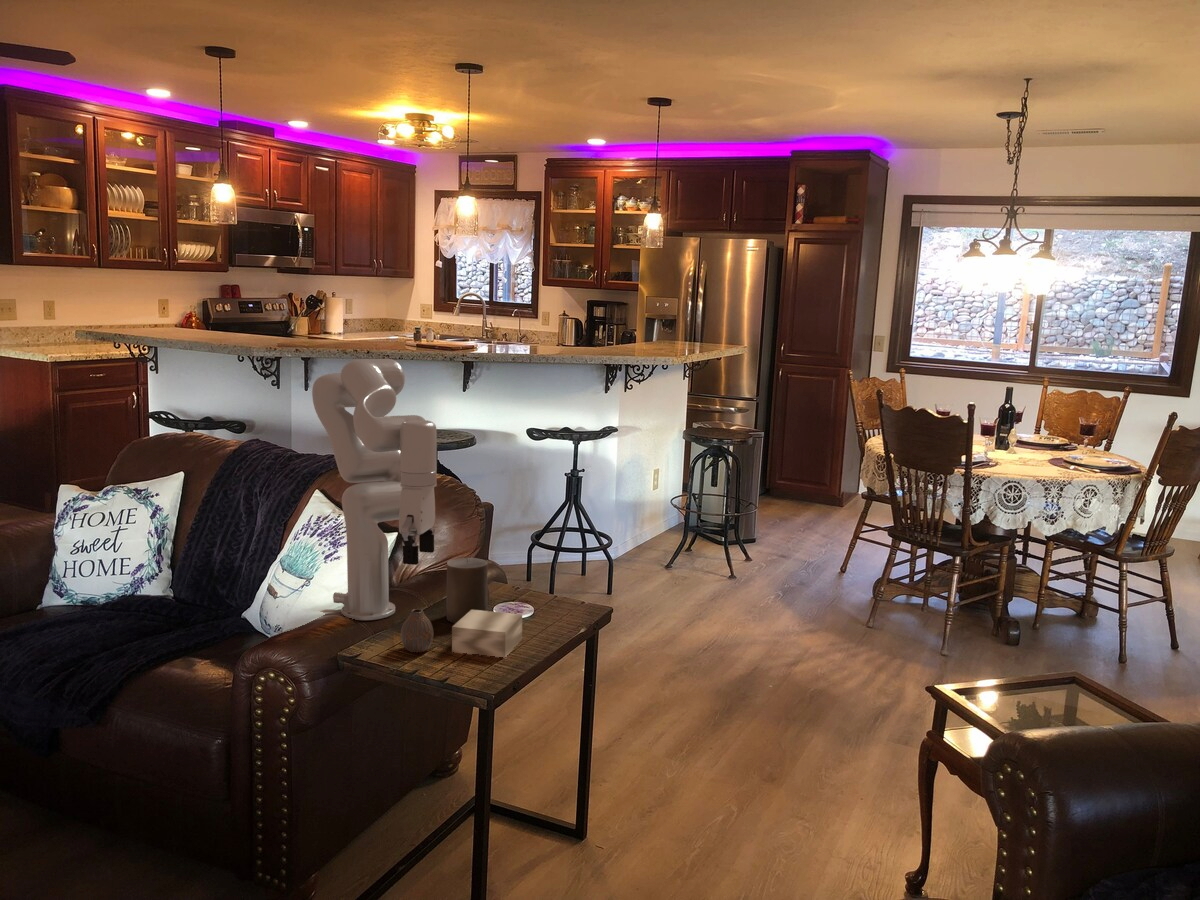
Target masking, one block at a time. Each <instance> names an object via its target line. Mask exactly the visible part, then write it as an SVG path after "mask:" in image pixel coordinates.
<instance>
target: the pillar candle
mask: <svg viewBox="0 0 1200 900" xmlns="http://www.w3.org/2000/svg"><path fill="white" fill-rule="evenodd" d="M488 568H489V567H488V561H486V559H482V558H477V557H463V558H462V557H459V558H454V559H451V560H448V561H447V562H446V612H445V613H446V620H447V621H448V622H449V621H450V623H453V624H456V623H457V622H458V621H459V620H460V619H461V618H463V617H464V616H465V615H466V614H467V613H468V612H469V611H470V610H481V611H488V578H489V577H488Z"/></svg>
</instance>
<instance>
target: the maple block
mask: <svg viewBox="0 0 1200 900" xmlns="http://www.w3.org/2000/svg"><path fill="white" fill-rule="evenodd" d="M522 639H523V614H521V613H520V614H519V613H513V612H512V613H511V612H510V613H509V612H502V611H491V610H490V611H489V610H487V611H481V610H470V611H469V612H468V613H467V614H466V615H465V616H464V617H463V618H461V619H460V620H459V621H458V622H457V623H454V624H453V625H452V626H451V653H453V652H454V653H455V654H463V653H467V654H466V655H472V654H479V655H478V656H481V655H487V656H486V657H490V656H495V657H494V658H499V657H503V658H502V659H506V658H507V657H508V656H509V654H510V653H511V652H513V650H514V649H515V648H516V647H517V645H518V644H519V643H520V642H521V641H522ZM514 647H515V648H514ZM454 653H453V654H454ZM507 655H508V656H507ZM505 657H506V658H505Z"/></svg>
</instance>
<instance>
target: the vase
mask: <svg viewBox="0 0 1200 900" xmlns="http://www.w3.org/2000/svg"><path fill="white" fill-rule="evenodd" d="M433 627H434V626H433V624H432V621H431V619H429V618H428V617H427V615H426V614H425V613H424V610H423V609H420V608H413V609H411V611H410V613H409V615H408V616H407V617H406V619H405V620H404V622H403V623H402V626H401V628H400V629H401V630H400V640H401V643H402V646H403V647H404V648H405V649H406V650H407V651H408V652H410V653H413V652H414V653H415V652H416V653H417V654H418V652H419V653H424V652H426V651H427V650H428V649H429V648H430V646H431V645H432V643H433V640H434V628H433ZM416 653H415V654H416Z"/></svg>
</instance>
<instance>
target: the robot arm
mask: <svg viewBox="0 0 1200 900" xmlns="http://www.w3.org/2000/svg"><path fill="white" fill-rule="evenodd" d="M405 378H406V377H405V372H404V369H403V367H402V366H401V364H400V363H399V362H398V361H397V360H394V359H392V358H372V359H371V358H364V359H363V358H360V359H359V358H358V359H353V360H351V361H349V362H346V364H345V365H343V367H342V369H341V371H340V372H334V373H328V374H323V375H321V376H318V378H316V379H315V380H314V382H313V385H312V390H311V391H312V392H311V395H312V396H311V397H312V402H313V407H314V410H315V413H316V416H317V418H318V419H319V421H320V423H321V424H322V426H323V429H325V432H326V434H327V435H328V438H329V441H330V445H331V448H332V452H333V455H334V456H333V457H334V460H335V463H336V465H337V468H338V469H337V471H338V472H339V475H340V476H341V478H342V479H343V481H344V482H347V483H351V484H353V485H351V486H349V487H347V488H346V489H345V490H344V492H343V493H342V496H341V507H342V513H343V517H344V524H345V533H346V565H347V566H346V567H347V570H346V571H347V574H346V575H347V592H346V593H343V592H333V595H332V600H333V603H334V604H342V605H343V606H342V607H341V615H342V614H343V615H344V616H347V617H349V618H352V619H351V620H353V619H355V620H354V621H376V620H381V619H384V618H385V619H386V618H388V617H390V616H393V615H394V614H395V613H396V605H395V603H393V602H390V600H389V599H390V597H389V595H390V593H389V590H390V589H389V583H390V582H389V541H388V537H387V536H386V534H385V533H384V532H383V530H382V529H381V528H380V527H379V525H378V524H379V523H382V522H389V521H396V520H397V521H398V532H399V534H401V540H402V542H401V545H402V563H403V565H412V566H414V565H415V566H417V565H418V564H419V559H420V558H419V552H421V553H431V554H432V553H434V552H435V525H436V522H435V521H436V499H435V496H436V495H435V487H437V486H438V485H437V482H438V481H437V479H438V478H437V477H438V476H437V469H438V468H437V466H438V465H437V463H438V459H437V458H438V457H437V453H438V452H437V450H438V449H437V448H438V447H437V442H438V441H437V439H438V438H437V435H438V434H437V426H436V424H435V422H433V421H431V420H426V419H425V418H424V417H423V416H421V415H418V414H417V415H416V414H415V415H414V414H409V415H388V414H390V412H391V411H392V410H393V409H394V408H395V405H396V403H397V396H398V395H399V394H401V392H402V391H403V389H404V387H405V381H406V379H405ZM346 408H354V411H353V414H352V413H350V412H349V411H347V410H346ZM354 483H355V484H354ZM418 540H419V543H418ZM343 615H342V616H343ZM344 616H343V617H344ZM349 618H348V619H349Z"/></svg>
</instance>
